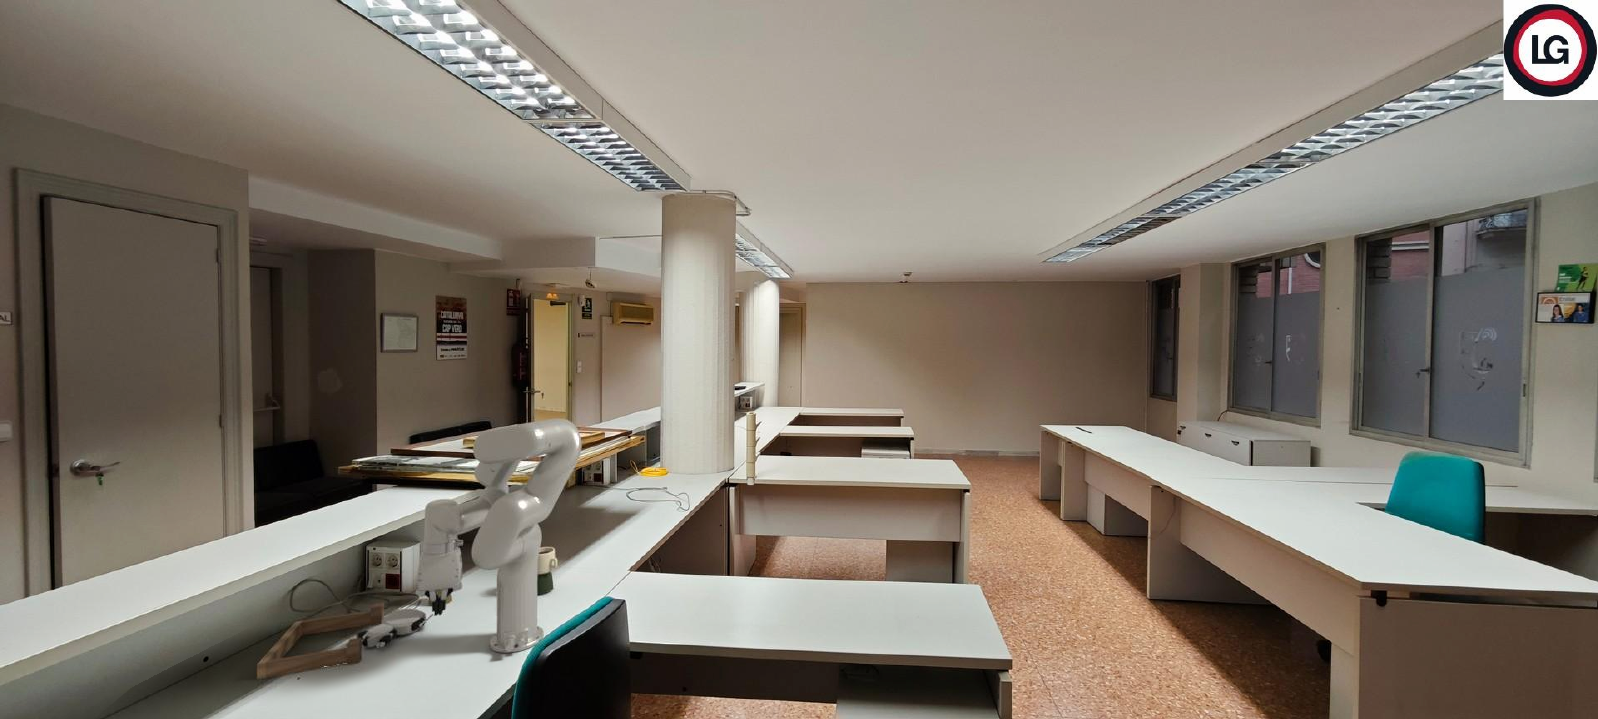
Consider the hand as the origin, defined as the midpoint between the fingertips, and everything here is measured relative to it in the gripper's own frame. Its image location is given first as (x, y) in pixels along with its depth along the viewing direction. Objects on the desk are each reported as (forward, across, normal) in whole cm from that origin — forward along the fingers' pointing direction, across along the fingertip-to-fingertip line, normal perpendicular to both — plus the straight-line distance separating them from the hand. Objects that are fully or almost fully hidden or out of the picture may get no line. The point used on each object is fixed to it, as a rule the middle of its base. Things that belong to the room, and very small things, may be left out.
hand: (438, 613), depth 154 cm
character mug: (+4, -26, -14) cm, 30 cm away
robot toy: (+5, +10, 0) cm, 11 cm away
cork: (+5, +2, -18) cm, 19 cm away
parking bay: (+5, +24, +1) cm, 25 cm away
